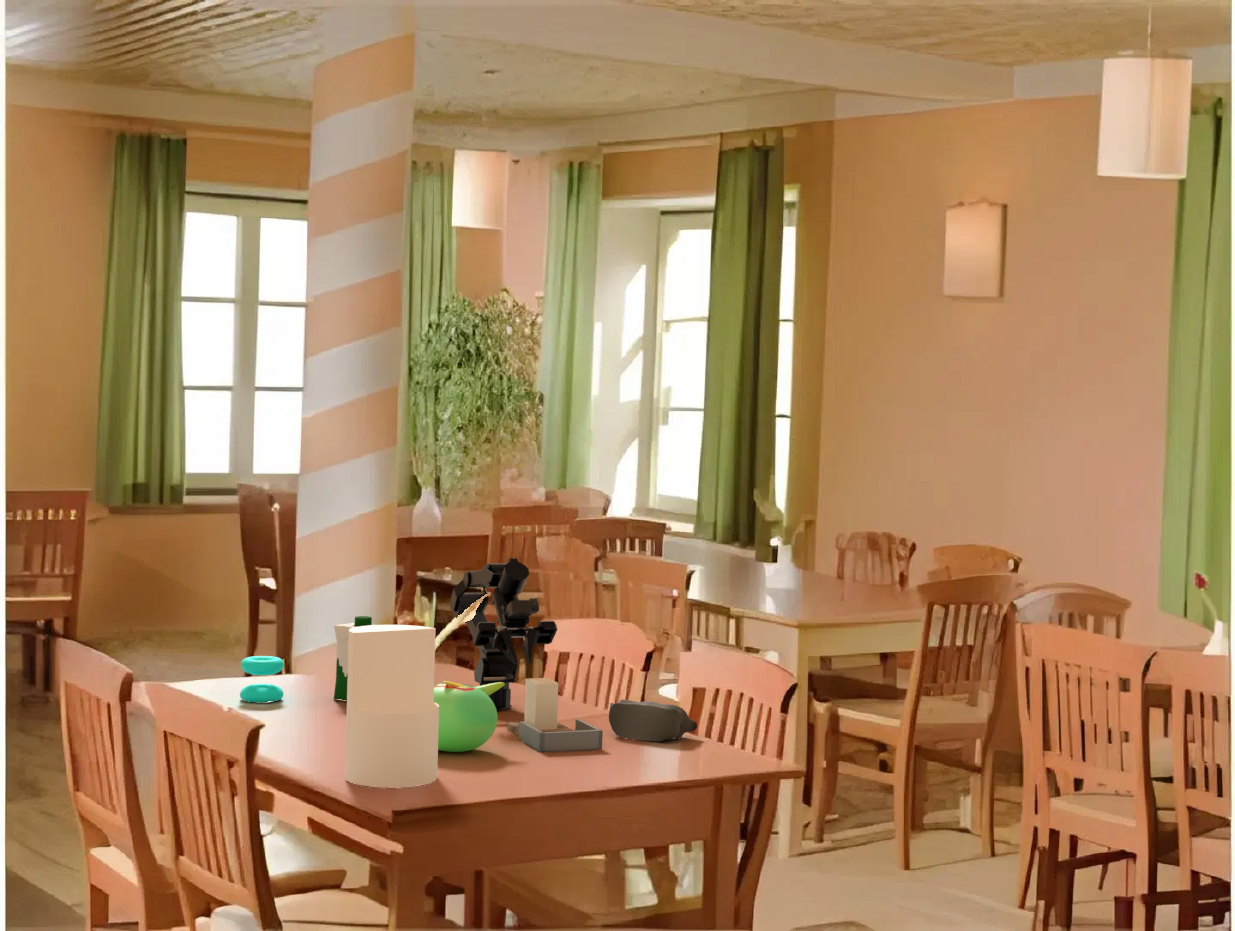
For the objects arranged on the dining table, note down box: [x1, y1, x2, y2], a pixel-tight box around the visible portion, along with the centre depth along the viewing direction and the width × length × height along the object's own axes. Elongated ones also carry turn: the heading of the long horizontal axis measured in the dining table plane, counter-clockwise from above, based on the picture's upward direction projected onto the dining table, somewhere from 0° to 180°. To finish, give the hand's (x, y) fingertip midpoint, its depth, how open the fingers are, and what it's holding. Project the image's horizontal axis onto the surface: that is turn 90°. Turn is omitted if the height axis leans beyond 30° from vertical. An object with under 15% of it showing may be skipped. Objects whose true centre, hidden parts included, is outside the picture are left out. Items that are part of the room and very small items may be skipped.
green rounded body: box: [434, 680, 505, 753], centre depth 345 cm, size 18×17×15 cm
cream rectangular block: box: [523, 677, 559, 730], centre depth 365 cm, size 7×5×10 cm
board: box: [506, 721, 574, 736], centre depth 366 cm, size 12×11×2 cm
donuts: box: [239, 655, 285, 703], centre depth 396 cm, size 10×10×10 cm
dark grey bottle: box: [608, 699, 698, 743], centre depth 366 cm, size 18×11×8 cm, turn 64°
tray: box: [518, 718, 604, 754], centre depth 354 cm, size 14×14×4 cm
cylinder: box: [344, 624, 439, 787], centre depth 317 cm, size 17×17×28 cm
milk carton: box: [333, 615, 374, 701], centre depth 400 cm, size 9×9×20 cm
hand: (522, 663), depth 377 cm, fingers open, 3 cm apart
